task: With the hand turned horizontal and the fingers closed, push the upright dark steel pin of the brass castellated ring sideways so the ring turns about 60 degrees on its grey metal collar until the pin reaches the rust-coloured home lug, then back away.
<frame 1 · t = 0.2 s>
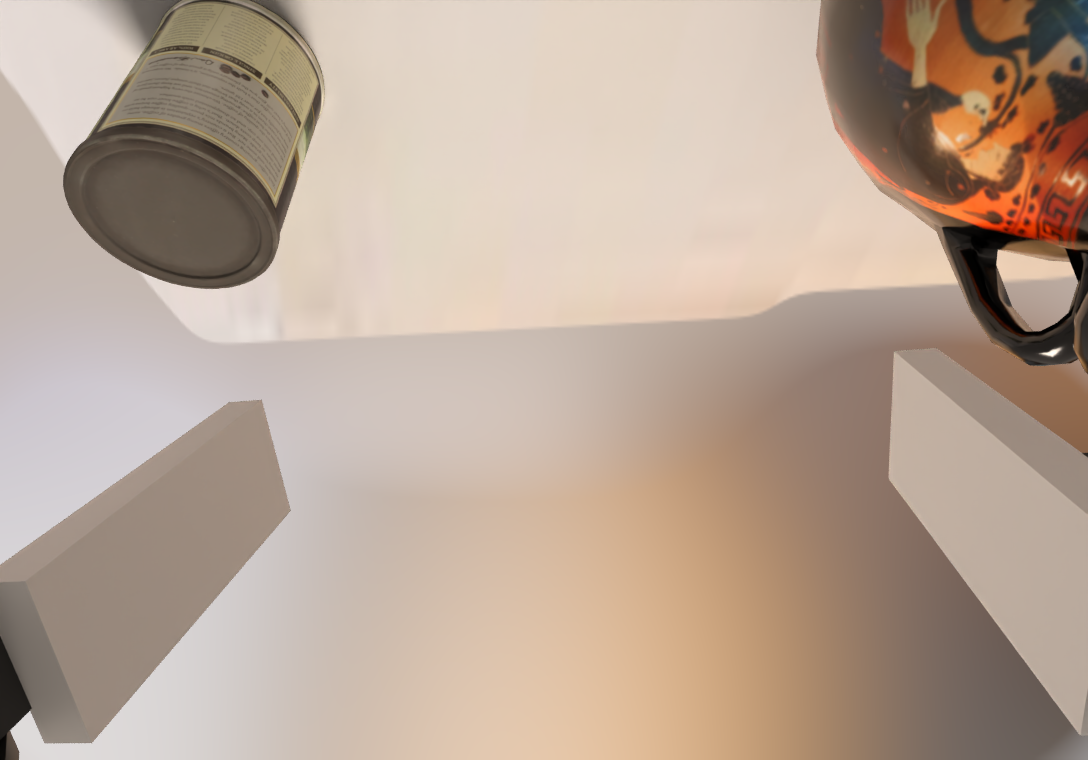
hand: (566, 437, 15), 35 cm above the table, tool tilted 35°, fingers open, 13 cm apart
coffee can: (244, 71, 46), on the table
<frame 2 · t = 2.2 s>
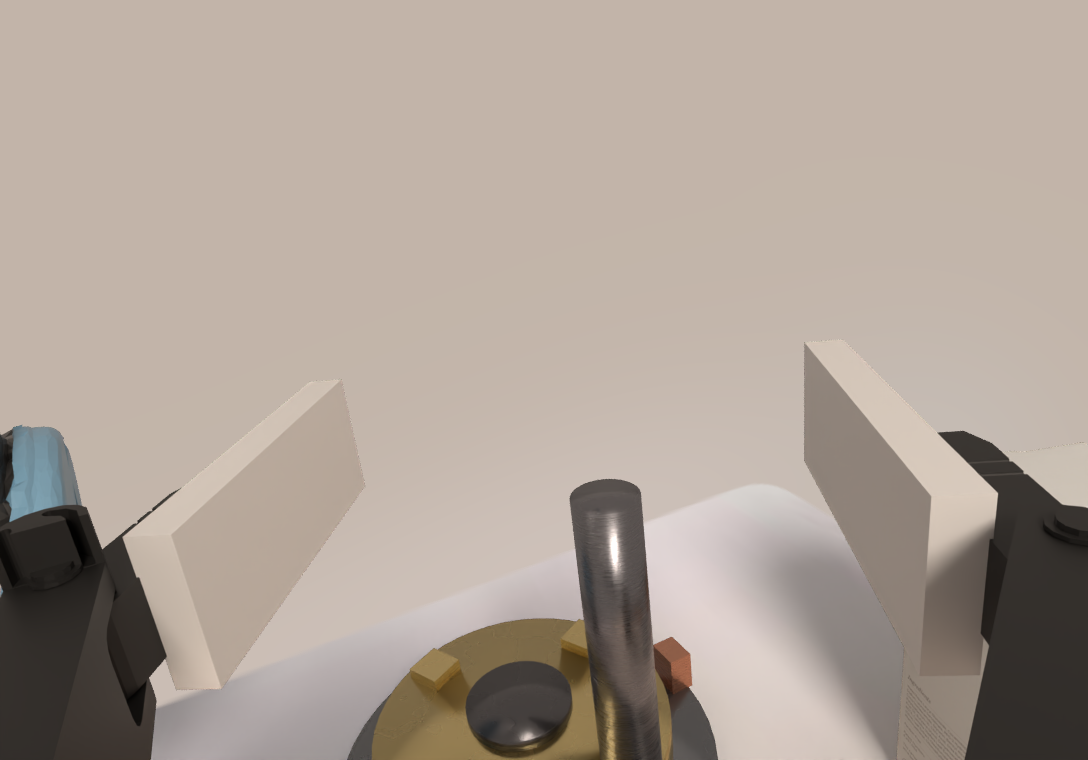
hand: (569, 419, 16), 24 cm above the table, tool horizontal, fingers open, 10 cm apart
ring nut: (508, 618, 32), point 10 cm above the table, hinge at 0.0°
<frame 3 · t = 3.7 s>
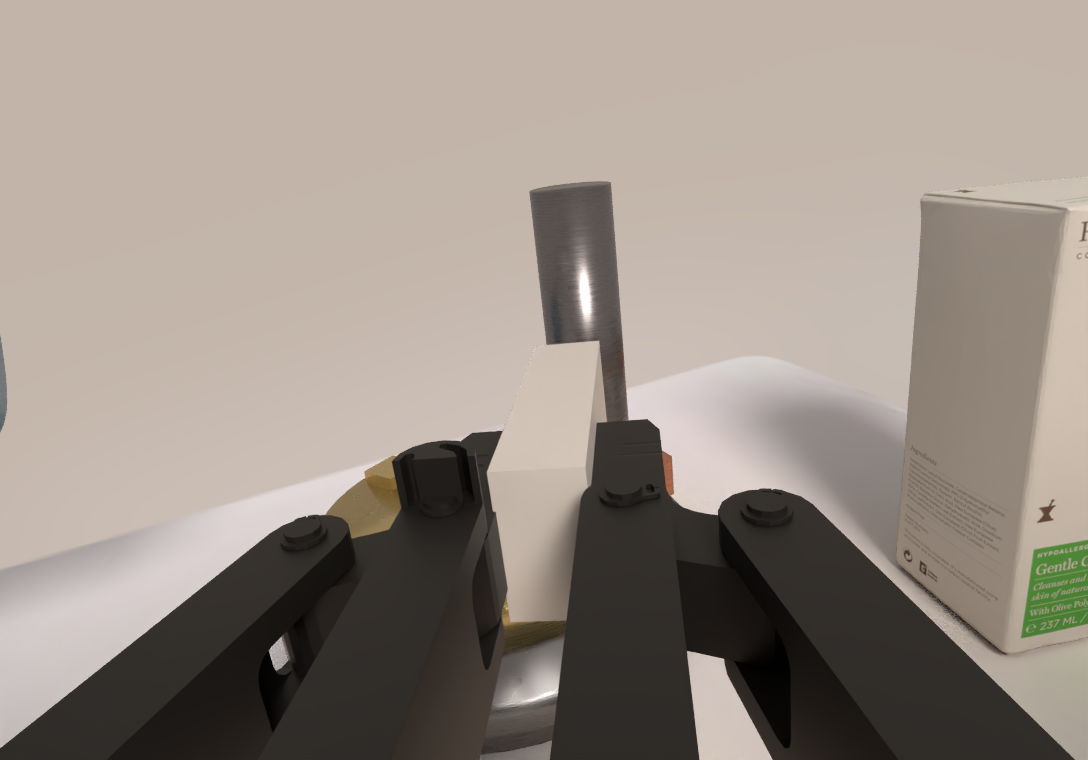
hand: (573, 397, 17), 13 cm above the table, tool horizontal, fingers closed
skincare box: (1031, 588, 29), on the table
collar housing: (496, 588, 32), on the table
ring nut: (467, 384, 29), point 10 cm above the table, hinge at 0.0°
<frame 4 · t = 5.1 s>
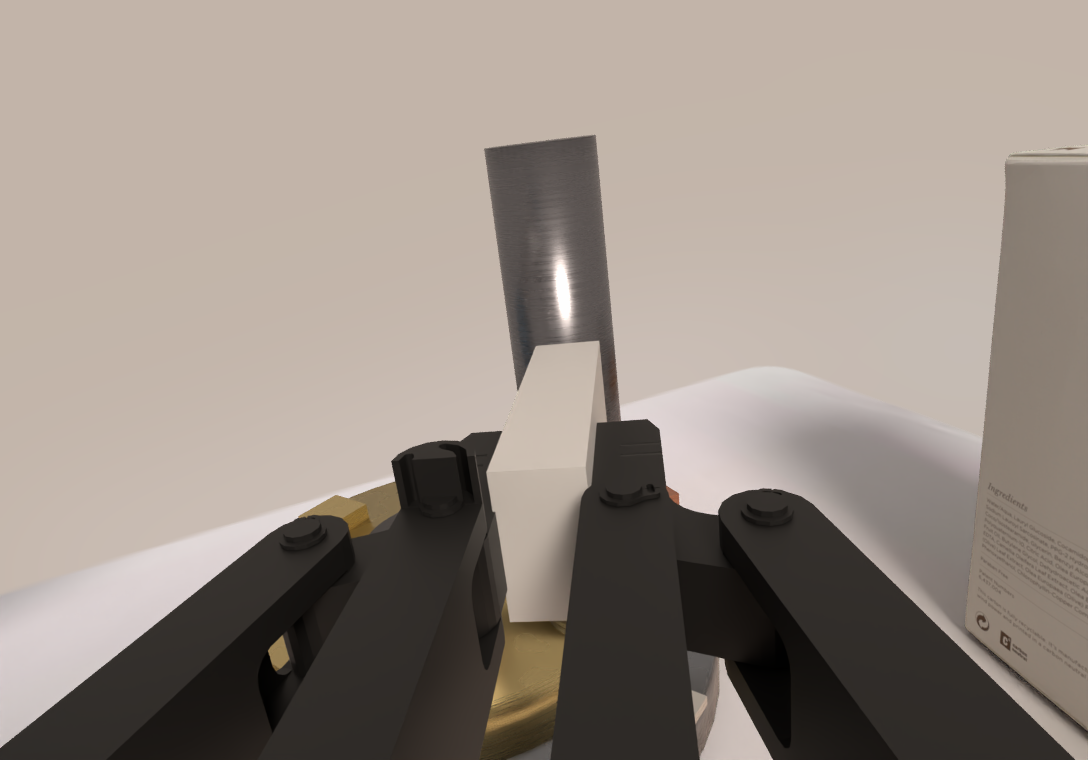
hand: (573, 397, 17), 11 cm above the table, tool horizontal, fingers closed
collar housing: (461, 662, 26), on the table
ring nut: (417, 409, 23), point 10 cm above the table, hinge at 0.4°, touching gripper
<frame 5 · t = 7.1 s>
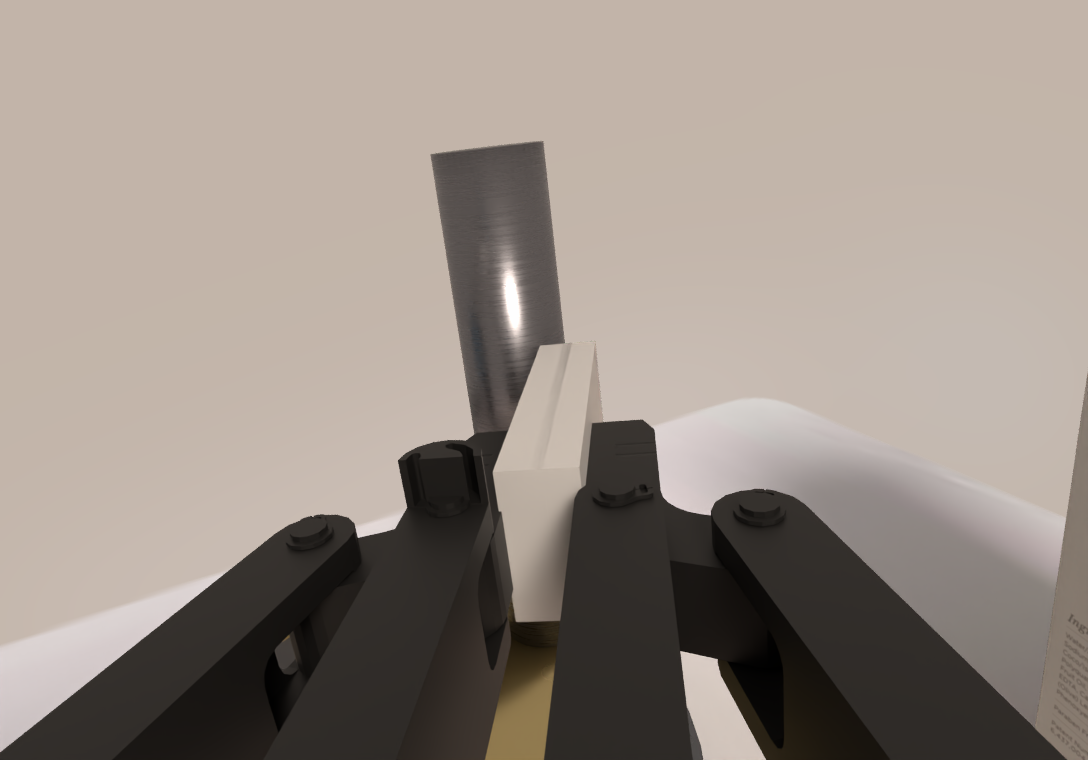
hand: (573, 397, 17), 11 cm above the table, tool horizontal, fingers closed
ring nut: (301, 516, 17), point 10 cm above the table, hinge at 62.3°, touching gripper
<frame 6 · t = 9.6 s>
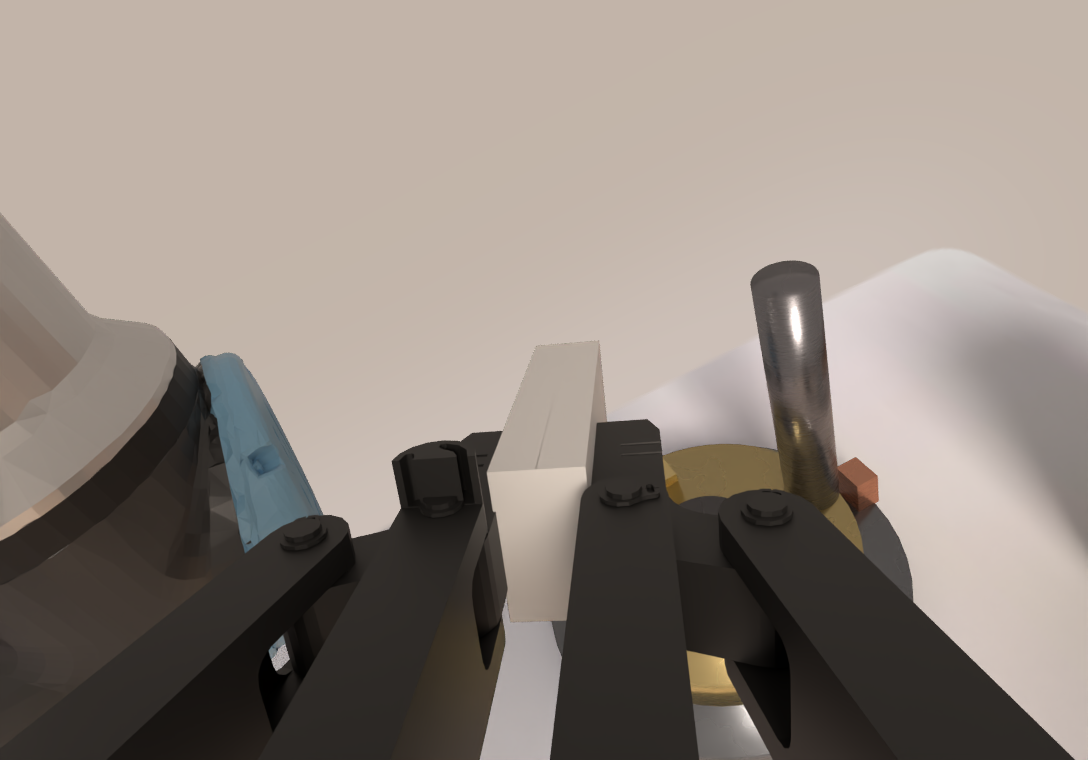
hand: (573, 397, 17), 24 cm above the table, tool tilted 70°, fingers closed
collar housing: (723, 595, 38), on the table
ring nut: (691, 473, 32), point 10 cm above the table, hinge at 62.5°
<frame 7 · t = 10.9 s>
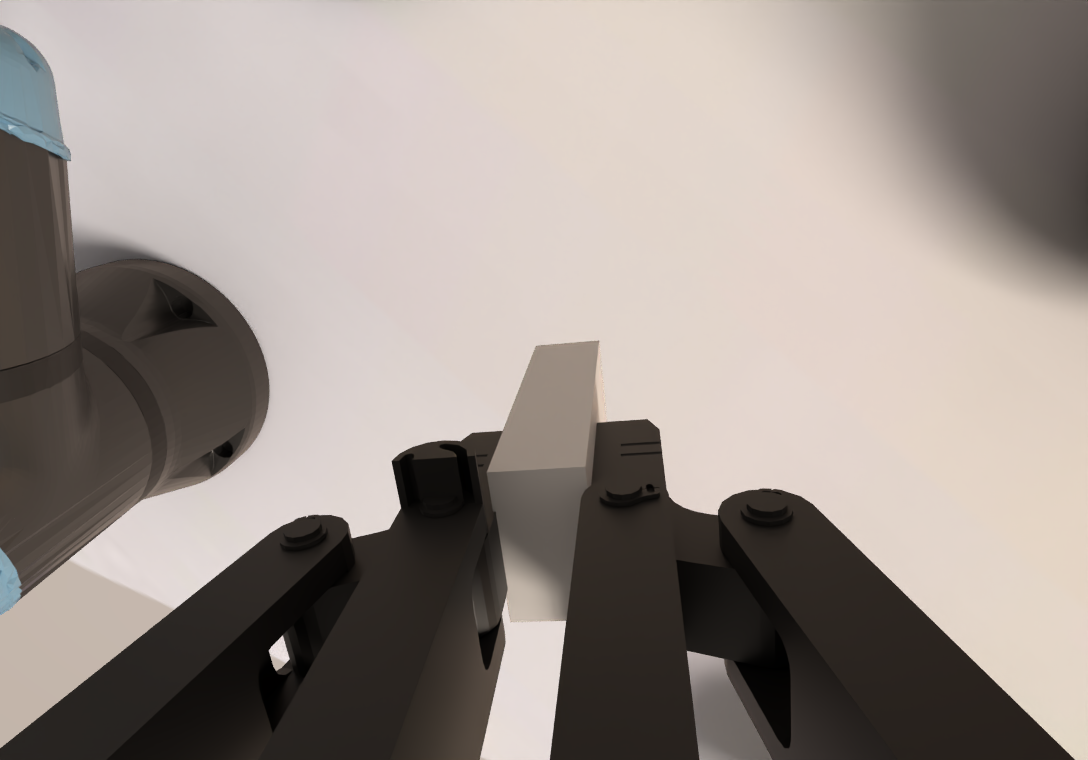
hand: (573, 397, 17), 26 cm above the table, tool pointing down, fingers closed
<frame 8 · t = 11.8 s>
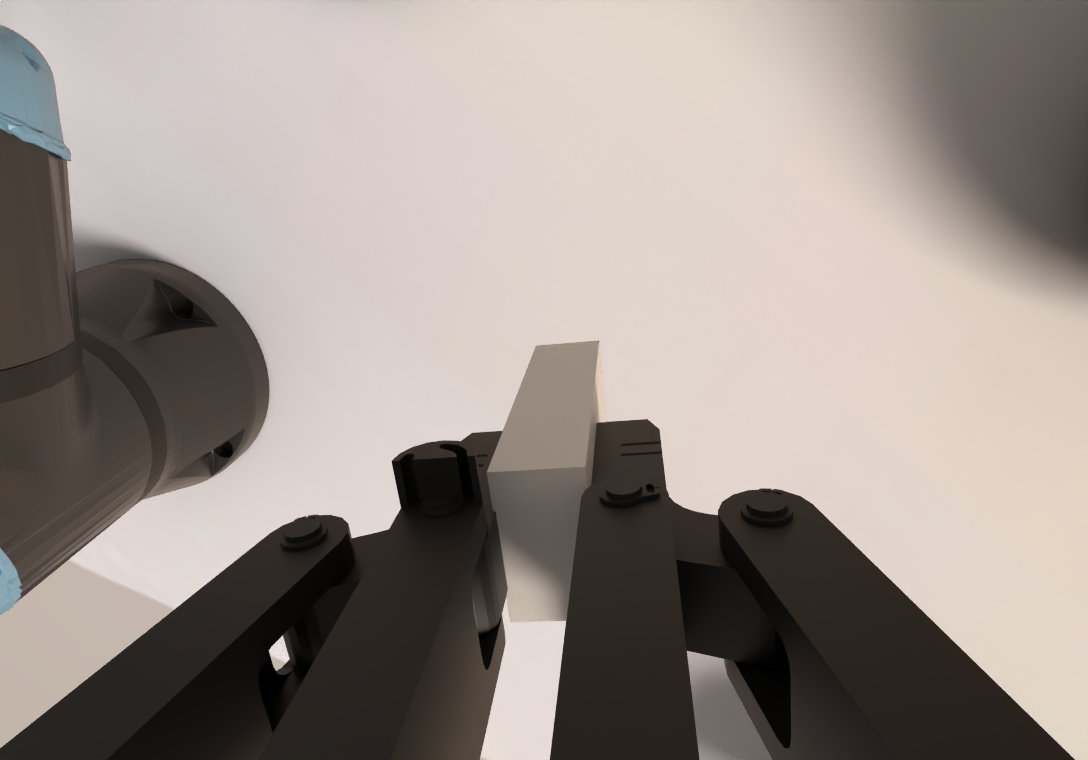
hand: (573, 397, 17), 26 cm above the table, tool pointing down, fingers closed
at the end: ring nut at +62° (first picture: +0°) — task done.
